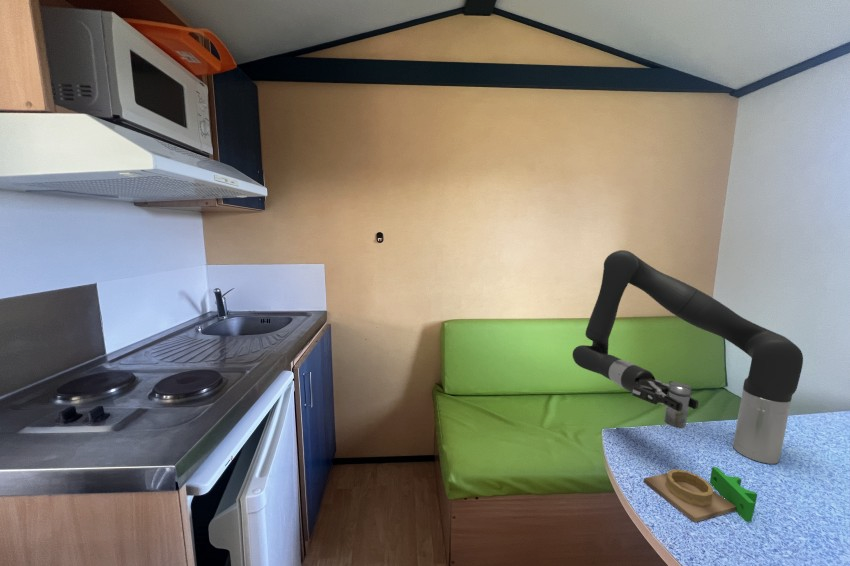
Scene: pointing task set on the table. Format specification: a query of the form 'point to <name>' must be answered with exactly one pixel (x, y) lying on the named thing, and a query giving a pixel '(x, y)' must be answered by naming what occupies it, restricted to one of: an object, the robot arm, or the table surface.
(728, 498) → the green bracket
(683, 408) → the grey lidded jar
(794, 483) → the table surface
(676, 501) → the ring seat
